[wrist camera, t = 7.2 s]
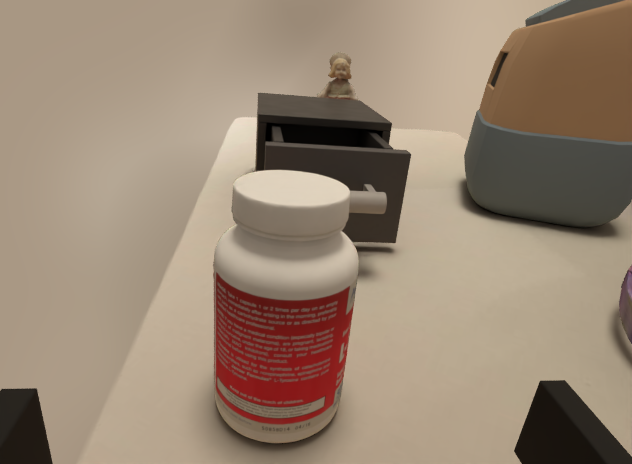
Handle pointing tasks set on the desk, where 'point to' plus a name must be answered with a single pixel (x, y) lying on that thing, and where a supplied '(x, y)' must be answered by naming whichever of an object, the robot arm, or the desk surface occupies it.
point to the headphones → (626, 304)
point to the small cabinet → (313, 117)
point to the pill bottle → (283, 305)
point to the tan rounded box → (558, 118)
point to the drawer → (348, 172)
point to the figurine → (339, 79)
